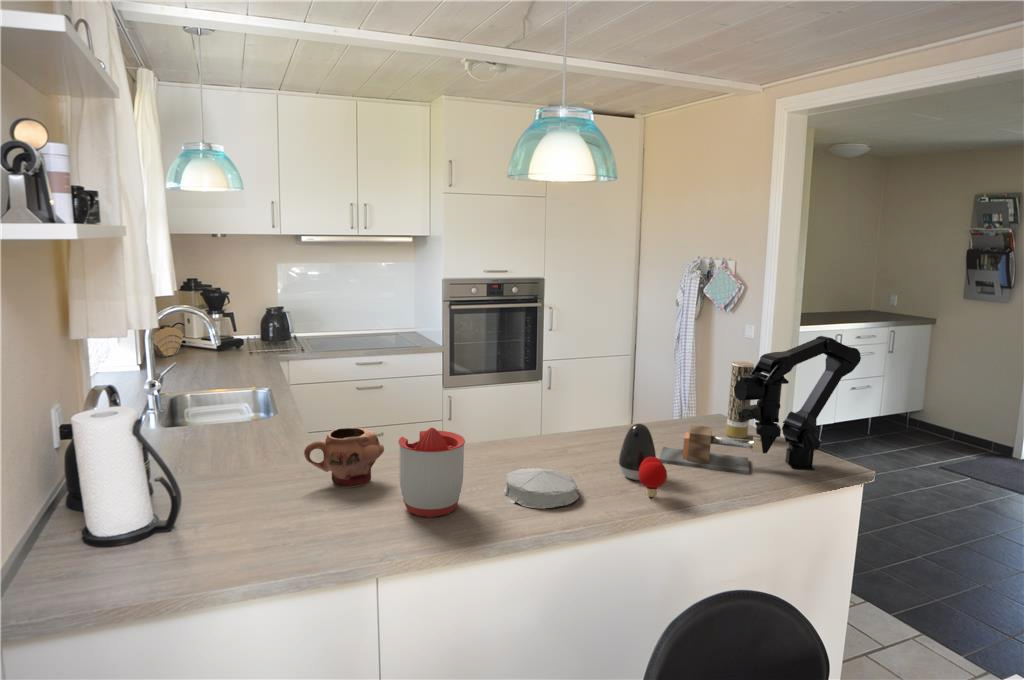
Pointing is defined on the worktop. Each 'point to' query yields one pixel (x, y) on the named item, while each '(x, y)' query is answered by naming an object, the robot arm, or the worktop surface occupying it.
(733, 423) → the patterned tall cylinder
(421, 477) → the citrus juicer
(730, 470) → the bearing block
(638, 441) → the black rounded cone
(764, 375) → the robot arm
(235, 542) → the worktop surface
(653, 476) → the light bulb
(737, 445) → the shaft
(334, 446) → the brown sculpted mug
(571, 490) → the food container
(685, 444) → the spacer collar
